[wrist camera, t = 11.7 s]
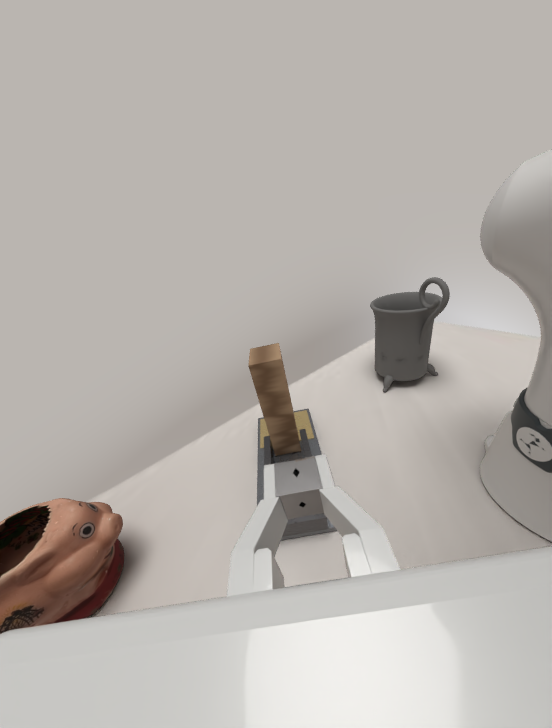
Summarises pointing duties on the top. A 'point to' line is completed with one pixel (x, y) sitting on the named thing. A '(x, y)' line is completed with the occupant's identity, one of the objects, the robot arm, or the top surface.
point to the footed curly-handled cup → (406, 332)
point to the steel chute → (308, 449)
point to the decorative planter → (57, 562)
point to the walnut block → (274, 398)
